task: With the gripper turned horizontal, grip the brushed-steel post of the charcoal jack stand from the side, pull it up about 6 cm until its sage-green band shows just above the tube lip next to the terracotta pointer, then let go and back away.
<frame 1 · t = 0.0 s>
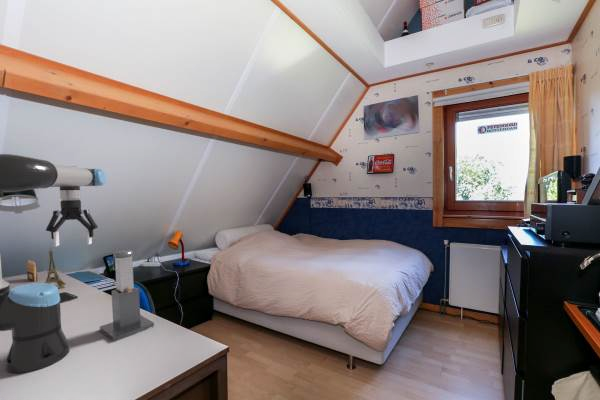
hand: (73, 245, 139), 28 cm above the table, tool pointing down, fingers open, 13 cm apart
column: (125, 287, 113), point 16 cm above the table, slide at 0.0 cm
eiffel tower: (53, 288, 166), on the table
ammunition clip: (32, 280, 181), on the table
phone: (62, 299, 149), on the table
jack stand base: (127, 328, 114), on the table
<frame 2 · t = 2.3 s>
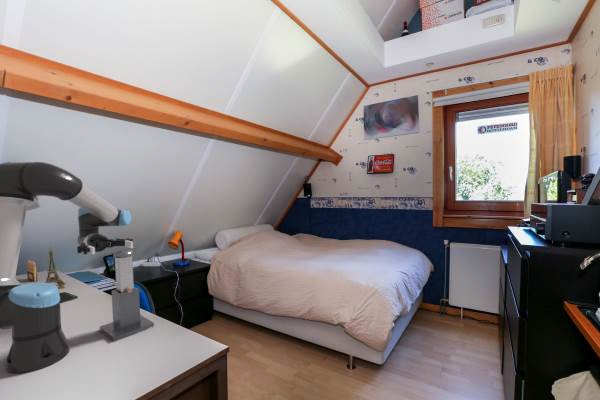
hand: (113, 247, 119), 30 cm above the table, tool horizontal, fingers open, 13 cm apart
nothing on the table moved.
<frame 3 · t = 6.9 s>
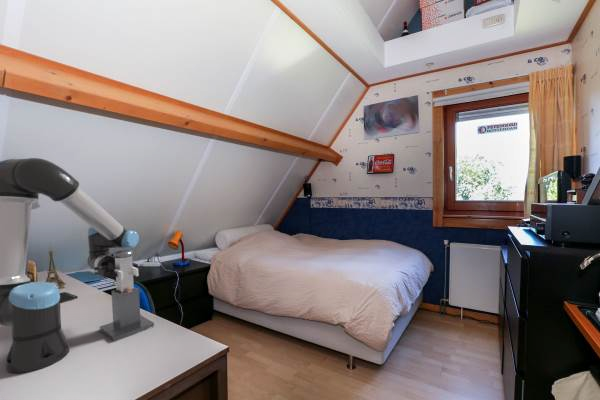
hand: (129, 274, 110), 22 cm above the table, tool horizontal, fingers closed on column, 4 cm apart
column: (125, 287, 113), point 16 cm above the table, slide at 0.0 cm, touching gripper
everything else where it was.
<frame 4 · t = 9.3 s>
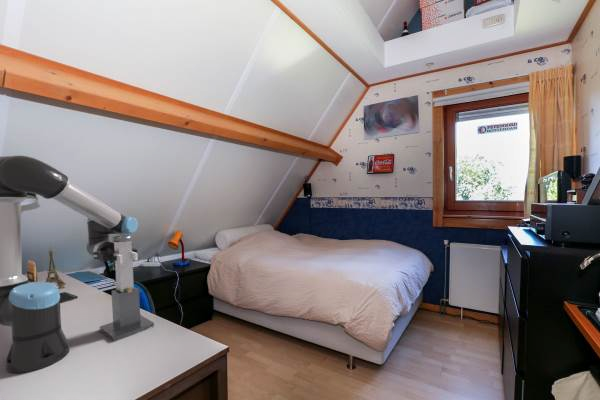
hand: (129, 258, 109), 28 cm above the table, tool horizontal, fingers closed on column, 4 cm apart
column: (124, 272, 113), point 22 cm above the table, slide at 5.9 cm, touching gripper
everything else where it was.
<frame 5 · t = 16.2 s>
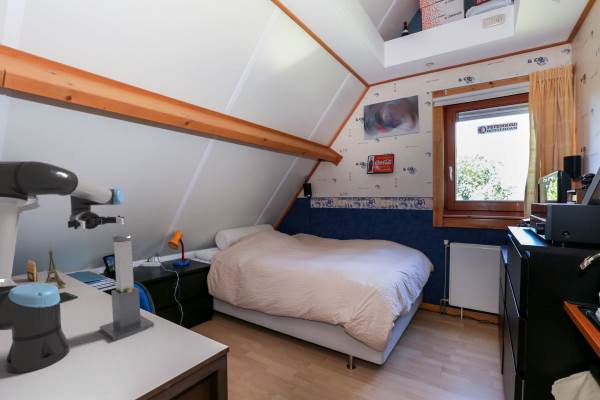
hand: (104, 223, 120), 40 cm above the table, tool horizontal, fingers open, 13 cm apart
column: (124, 272, 113), point 22 cm above the table, slide at 6.0 cm
everything else where it was.
at the end: column slide at 6.0 cm; the gripper is holding nothing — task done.
